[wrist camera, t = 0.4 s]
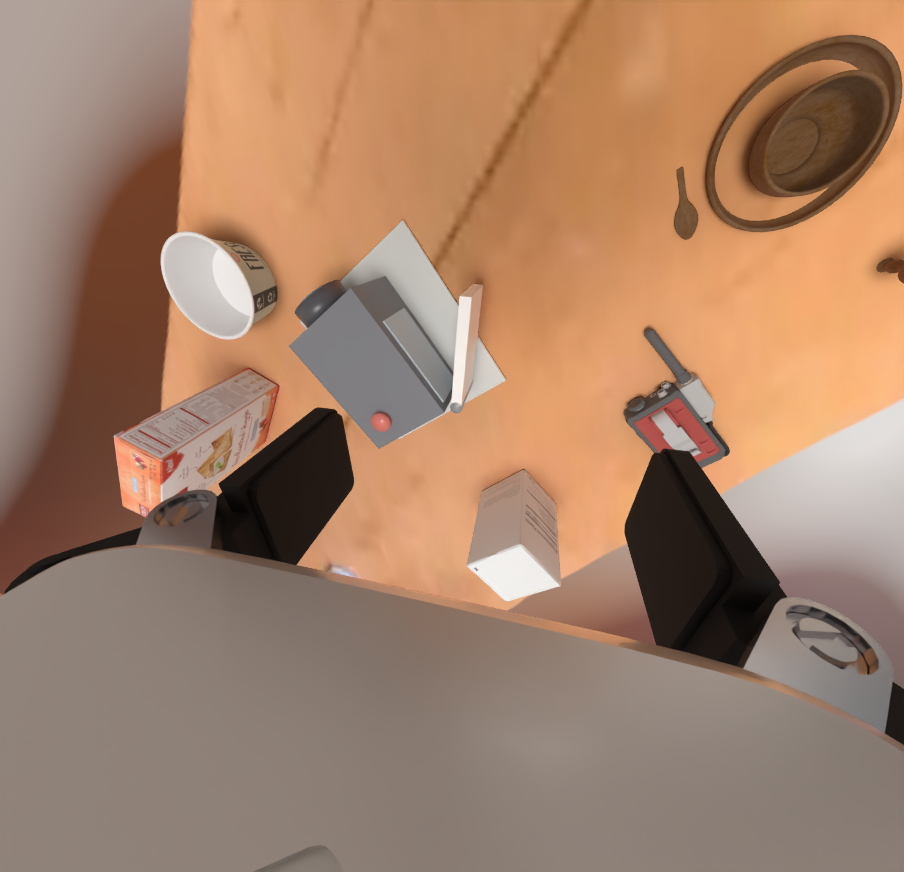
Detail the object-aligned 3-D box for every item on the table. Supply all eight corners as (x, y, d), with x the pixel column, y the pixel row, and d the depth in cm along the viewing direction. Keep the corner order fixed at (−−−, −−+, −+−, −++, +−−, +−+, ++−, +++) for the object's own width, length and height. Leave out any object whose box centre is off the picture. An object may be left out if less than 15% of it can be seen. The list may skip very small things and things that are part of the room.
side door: (472, 283, 38) (458, 295, 31) (484, 285, 38) (472, 297, 31) (462, 385, 45) (449, 412, 39) (472, 387, 45) (461, 414, 38)
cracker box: (268, 443, 61) (161, 528, 44) (238, 425, 60) (118, 506, 43) (282, 386, 53) (160, 463, 36) (248, 365, 52) (107, 435, 35)
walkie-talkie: (742, 438, 42) (653, 320, 37) (761, 458, 38) (666, 330, 33) (671, 471, 46) (584, 369, 41) (683, 492, 43) (588, 383, 38)
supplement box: (512, 523, 58) (505, 604, 46) (480, 490, 56) (463, 566, 43) (558, 504, 54) (563, 588, 41) (525, 467, 51) (520, 544, 39)
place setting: (957, -35, 22) (1074, -107, 17) (908, 270, 30) (977, 279, 26) (659, 127, 29) (683, 108, 24) (685, 339, 37) (707, 356, 33)
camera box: (301, 320, 46) (248, 342, 38) (404, 220, 37) (363, 219, 28) (399, 437, 53) (373, 477, 45) (506, 379, 44) (498, 416, 36)
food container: (209, 305, 48) (167, 316, 43) (202, 213, 41) (151, 212, 36) (284, 340, 49) (252, 354, 43) (290, 254, 42) (252, 259, 36)
